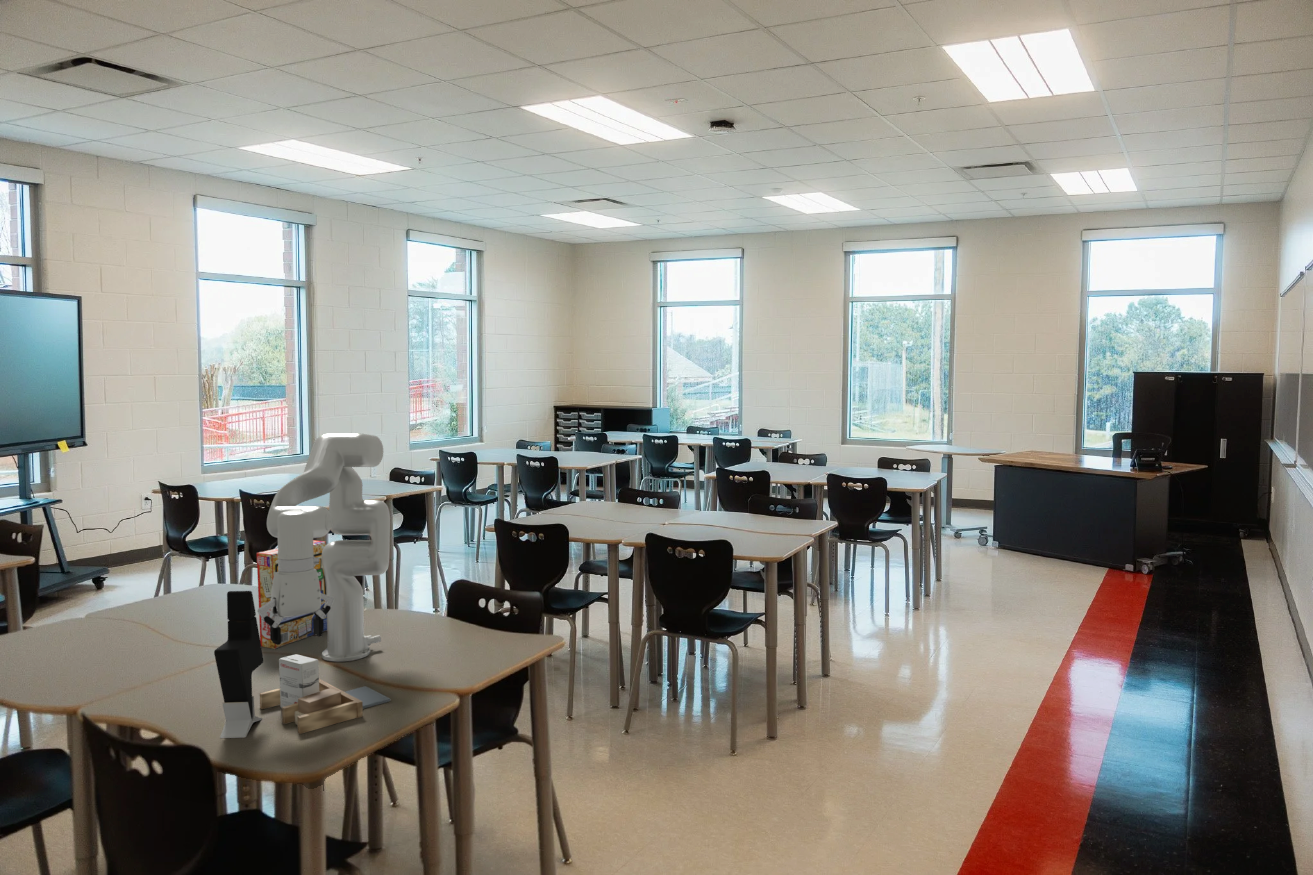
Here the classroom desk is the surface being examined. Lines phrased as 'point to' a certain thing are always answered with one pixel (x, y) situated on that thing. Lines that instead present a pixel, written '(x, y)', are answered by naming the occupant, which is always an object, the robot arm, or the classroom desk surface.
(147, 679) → the classroom desk surface
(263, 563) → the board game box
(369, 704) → the mat
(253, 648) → the award
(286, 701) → the ink box
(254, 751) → the classroom desk surface
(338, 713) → the rack
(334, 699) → the offcut
